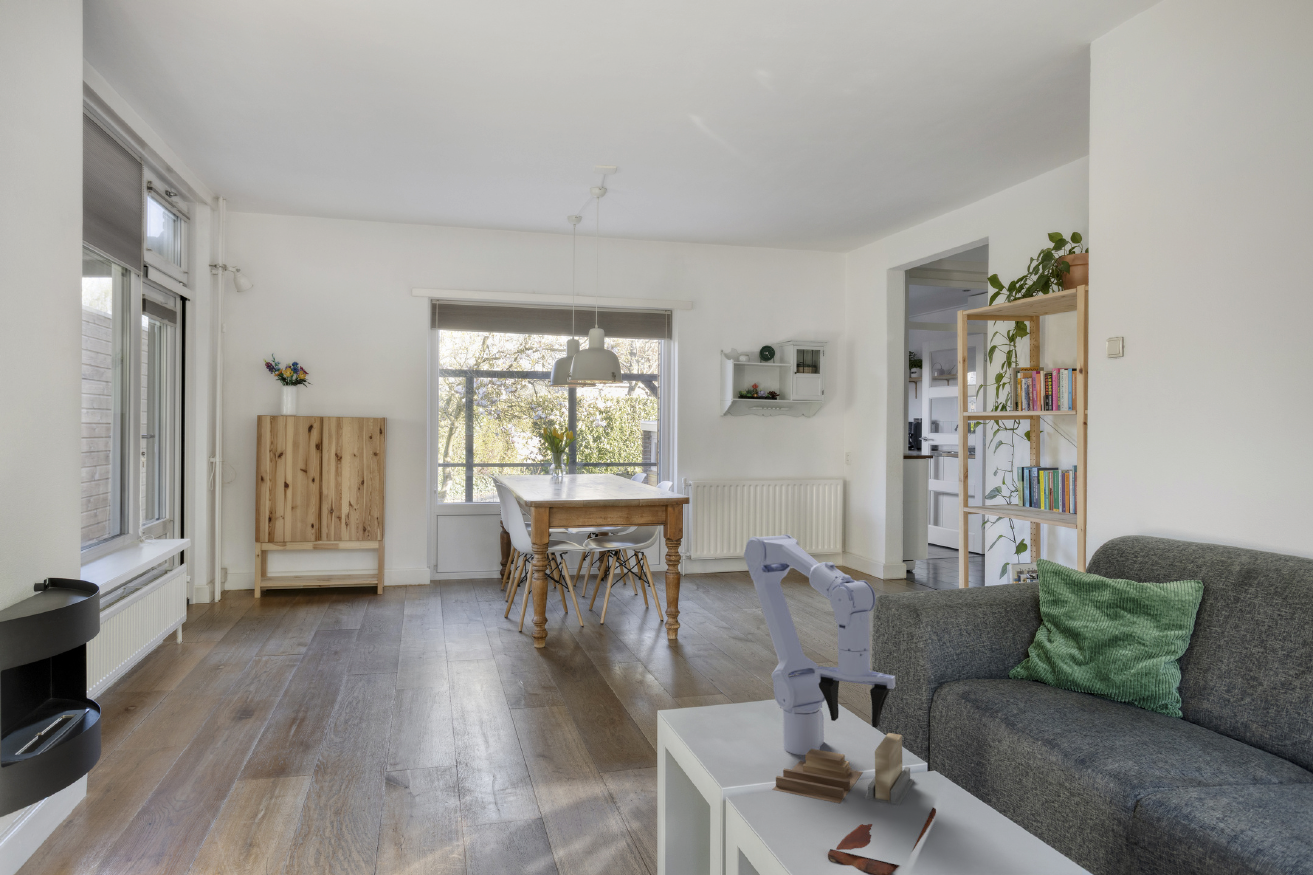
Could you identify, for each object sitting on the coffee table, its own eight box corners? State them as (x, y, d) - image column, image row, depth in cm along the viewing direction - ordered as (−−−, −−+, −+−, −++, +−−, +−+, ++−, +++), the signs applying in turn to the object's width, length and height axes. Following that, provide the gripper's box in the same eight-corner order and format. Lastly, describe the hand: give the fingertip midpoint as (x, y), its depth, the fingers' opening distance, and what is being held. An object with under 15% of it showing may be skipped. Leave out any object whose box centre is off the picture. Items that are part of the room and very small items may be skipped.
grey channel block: (880, 778, 147) (880, 762, 147) (914, 784, 144) (914, 767, 144) (863, 803, 137) (863, 785, 137) (899, 810, 134) (899, 792, 134)
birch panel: (875, 797, 137) (874, 750, 137) (889, 777, 145) (888, 732, 146) (889, 800, 135) (889, 753, 136) (902, 779, 144) (901, 734, 144)
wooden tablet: (889, 884, 112) (889, 872, 112) (823, 863, 118) (823, 852, 118) (946, 814, 134) (945, 804, 134) (887, 799, 140) (887, 789, 140)
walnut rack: (800, 765, 154) (800, 752, 154) (863, 777, 148) (862, 763, 148) (772, 794, 141) (772, 780, 141) (839, 808, 135) (839, 793, 135)
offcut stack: (808, 764, 152) (808, 748, 152) (850, 771, 148) (850, 755, 148) (802, 770, 149) (802, 754, 149) (845, 778, 145) (845, 761, 145)
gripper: (899, 647, 147) (900, 722, 147) (822, 639, 155) (824, 710, 154) (889, 655, 141) (890, 733, 141) (810, 646, 149) (811, 720, 148)
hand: (855, 722), depth 147 cm, fingers open, 7 cm apart
